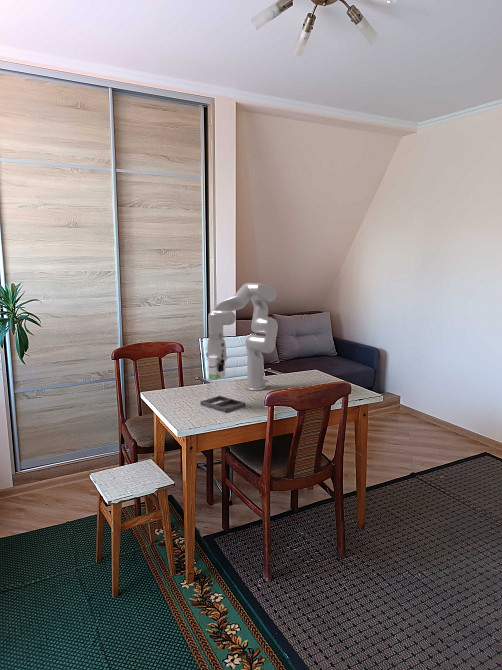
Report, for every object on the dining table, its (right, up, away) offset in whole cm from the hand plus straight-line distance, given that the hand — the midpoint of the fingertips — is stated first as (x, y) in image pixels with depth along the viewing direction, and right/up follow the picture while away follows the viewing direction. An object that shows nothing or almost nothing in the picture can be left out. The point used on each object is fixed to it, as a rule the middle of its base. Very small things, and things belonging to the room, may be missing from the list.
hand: (216, 370), depth 244 cm
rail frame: (+3, -19, 0) cm, 19 cm away
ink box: (0, -4, +1) cm, 4 cm away
